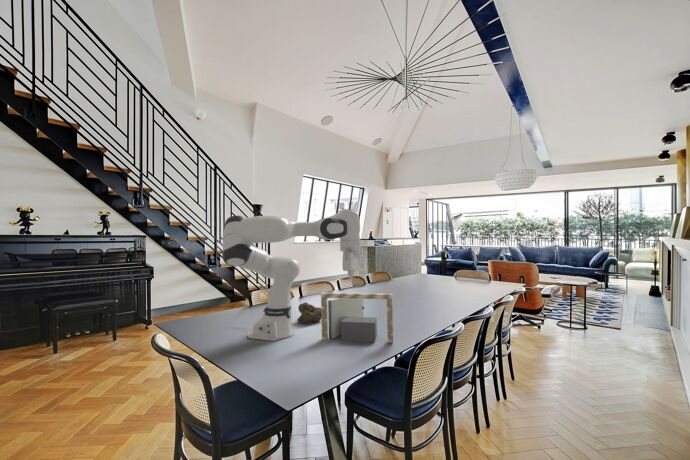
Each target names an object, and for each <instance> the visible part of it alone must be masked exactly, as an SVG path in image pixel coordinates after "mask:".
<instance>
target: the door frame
mask: <svg viewBox="0 0 690 460" xmlns="http://www.w3.org/2000/svg"><path fill="white" fill-rule="evenodd" d="M320 295H321V296H320V299H321V300H320V305H321V306H320V308H321V315H322V318H321V341H327V340H328V339H329V321H328V299H335V298H354V299H363V300H364V299H365V300H369V299H370V300H386V314H387V315H386V323H387V325H386V328H387V344H394V320H393V319H394V318H393V317H394V316H393V315H394V314H393V311H394V310H393V293H369V292H368V293H364V292H363V293H358V292H320Z"/></svg>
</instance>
